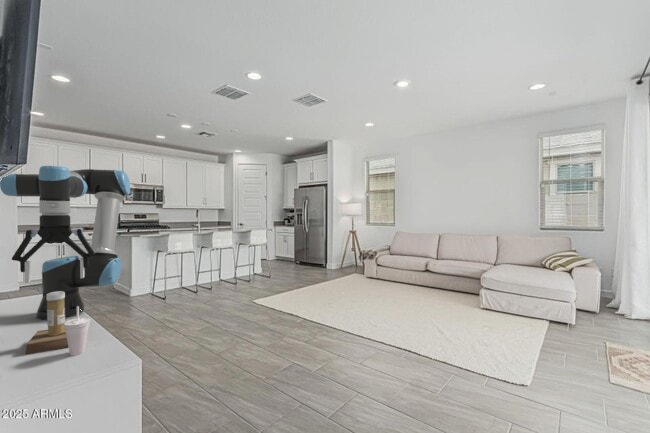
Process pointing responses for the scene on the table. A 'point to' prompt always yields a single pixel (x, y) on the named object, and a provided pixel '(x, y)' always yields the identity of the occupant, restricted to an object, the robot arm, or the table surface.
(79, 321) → the smoothie
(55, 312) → the sprinkles bottle
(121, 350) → the table surface
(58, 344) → the walnut base
